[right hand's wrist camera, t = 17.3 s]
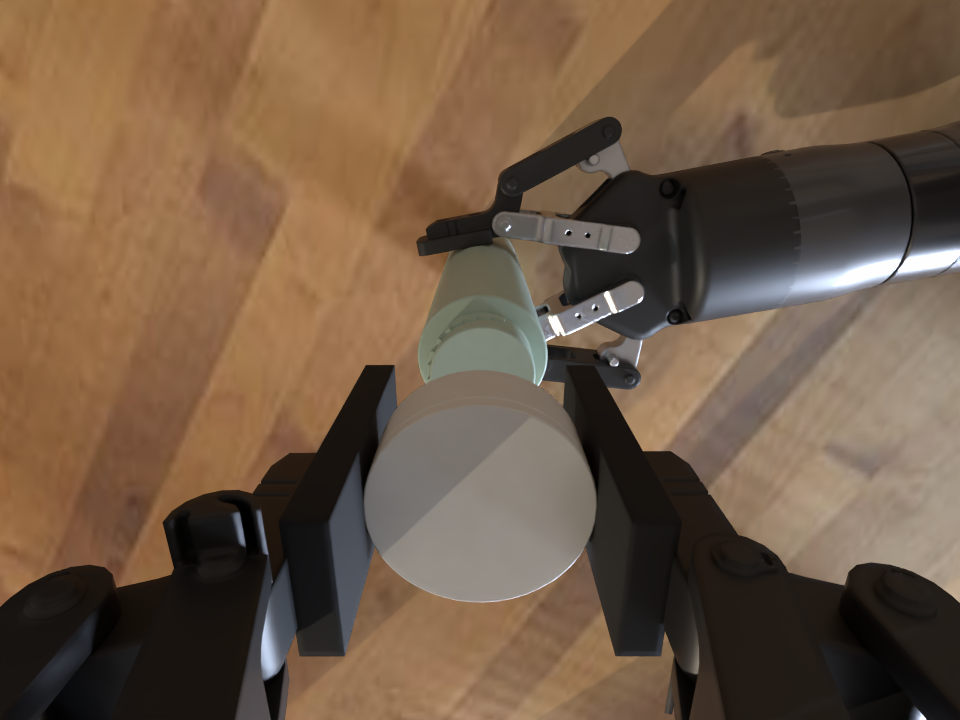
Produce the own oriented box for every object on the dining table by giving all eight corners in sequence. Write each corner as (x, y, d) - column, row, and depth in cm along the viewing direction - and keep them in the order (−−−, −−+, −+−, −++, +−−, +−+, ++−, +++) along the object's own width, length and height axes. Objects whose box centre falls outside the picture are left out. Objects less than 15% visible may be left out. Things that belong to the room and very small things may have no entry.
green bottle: (458, 218, 32) (431, 290, 15) (525, 238, 33) (573, 330, 15) (440, 285, 34) (397, 420, 16) (505, 303, 34) (528, 453, 17)
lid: (485, 576, 13) (486, 637, 11) (338, 467, 12) (315, 517, 10) (623, 457, 12) (646, 506, 10) (473, 325, 11) (472, 355, 9)
